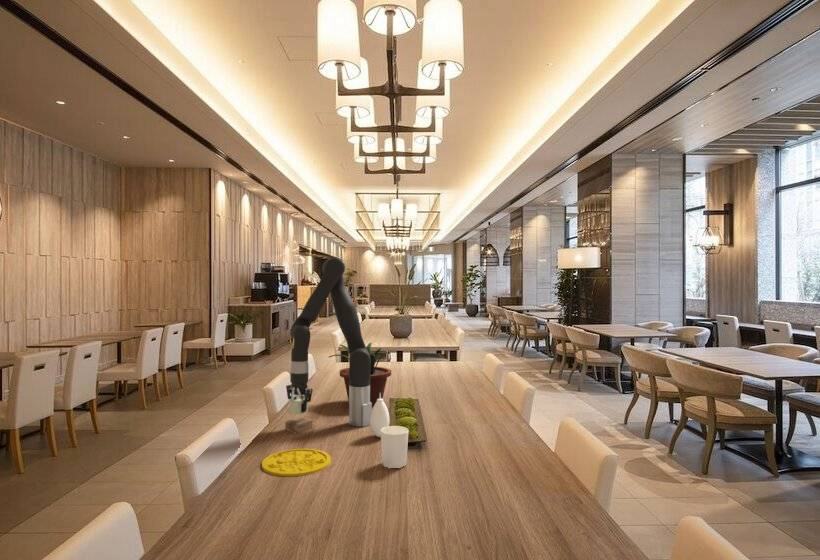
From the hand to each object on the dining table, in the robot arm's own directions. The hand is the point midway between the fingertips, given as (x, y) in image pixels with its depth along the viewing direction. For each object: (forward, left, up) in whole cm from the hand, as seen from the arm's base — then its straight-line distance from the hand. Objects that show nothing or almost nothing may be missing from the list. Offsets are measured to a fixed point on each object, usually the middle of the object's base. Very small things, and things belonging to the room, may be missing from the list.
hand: (298, 410), depth 207 cm
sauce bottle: (-34, -12, -8) cm, 37 cm away
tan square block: (0, 0, -8) cm, 8 cm away
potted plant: (+5, -47, -8) cm, 48 cm away
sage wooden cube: (0, 0, -1) cm, 1 cm away
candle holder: (-56, +9, -8) cm, 58 cm away
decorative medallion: (-27, +27, -9) cm, 39 cm away
